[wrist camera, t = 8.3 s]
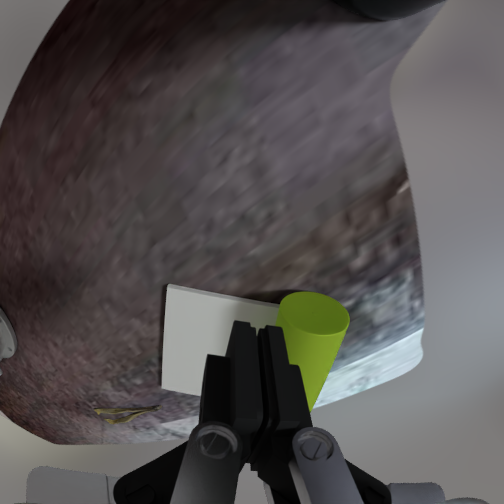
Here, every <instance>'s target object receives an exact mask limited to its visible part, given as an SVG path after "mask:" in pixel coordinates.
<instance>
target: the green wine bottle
mask: <svg viewBox="0 0 504 504" xmlns="http://www.w3.org/2000/svg"><path fill="white" fill-rule="evenodd" d="M333 1H335V2H336V3H337V4H339V5H341V6H343V7H344V8H346V9H348V10H350V11H352V12H354V13H357V14H359V15H361V16H365V17H369V18H372V19H378V20H398V19H402V18H406V17H408V16H411V15H414V14H416V13H418V12H420V11H423V10H425V9H427V8H429V7H432V6H434V5H436V4H438V3H441V2H443V1H445V0H333Z"/></svg>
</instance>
